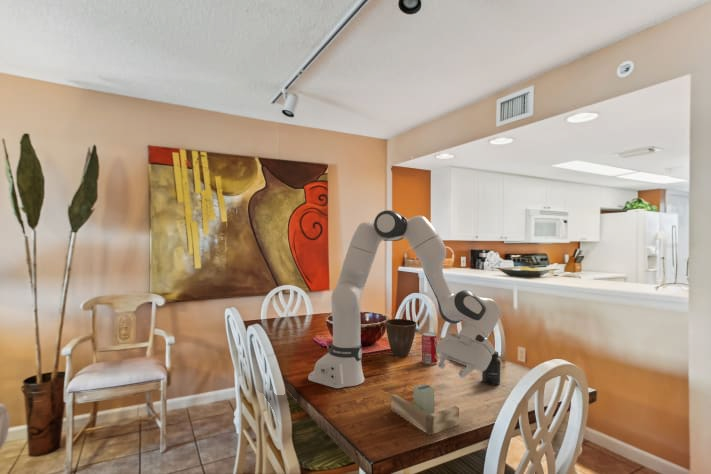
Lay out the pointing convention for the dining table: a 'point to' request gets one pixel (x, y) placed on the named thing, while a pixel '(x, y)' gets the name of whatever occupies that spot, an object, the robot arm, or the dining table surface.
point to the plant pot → (400, 336)
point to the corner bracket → (425, 416)
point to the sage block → (424, 398)
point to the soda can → (429, 348)
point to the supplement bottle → (492, 371)
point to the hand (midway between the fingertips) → (450, 371)
